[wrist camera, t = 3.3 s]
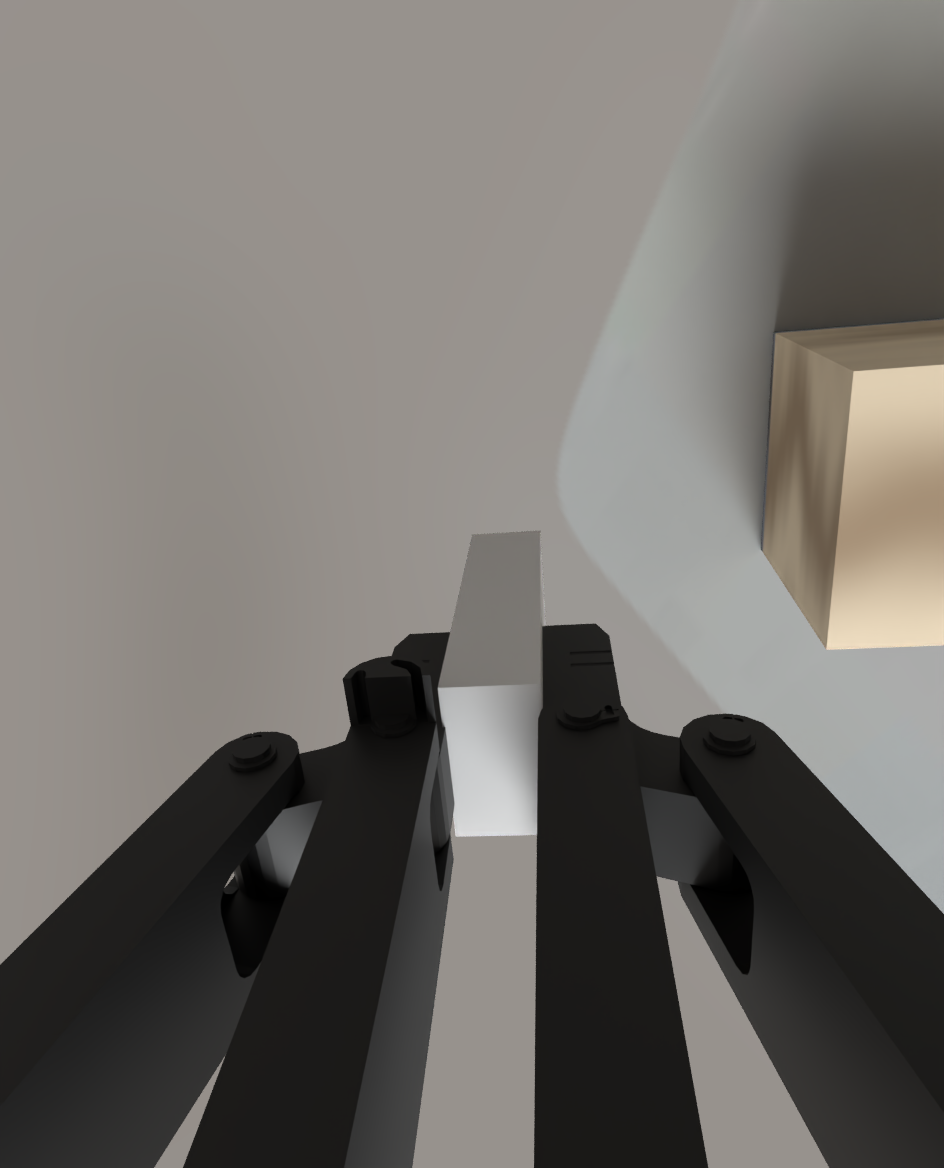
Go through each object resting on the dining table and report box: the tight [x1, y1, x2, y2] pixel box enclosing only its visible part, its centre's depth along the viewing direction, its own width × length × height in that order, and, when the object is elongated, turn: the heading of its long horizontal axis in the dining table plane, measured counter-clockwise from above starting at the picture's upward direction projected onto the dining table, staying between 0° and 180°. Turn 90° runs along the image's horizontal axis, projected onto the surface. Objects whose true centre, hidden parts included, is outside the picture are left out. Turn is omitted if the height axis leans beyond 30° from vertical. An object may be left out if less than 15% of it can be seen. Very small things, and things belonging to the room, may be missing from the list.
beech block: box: [761, 318, 944, 650], centre depth 22 cm, size 7×7×7 cm
